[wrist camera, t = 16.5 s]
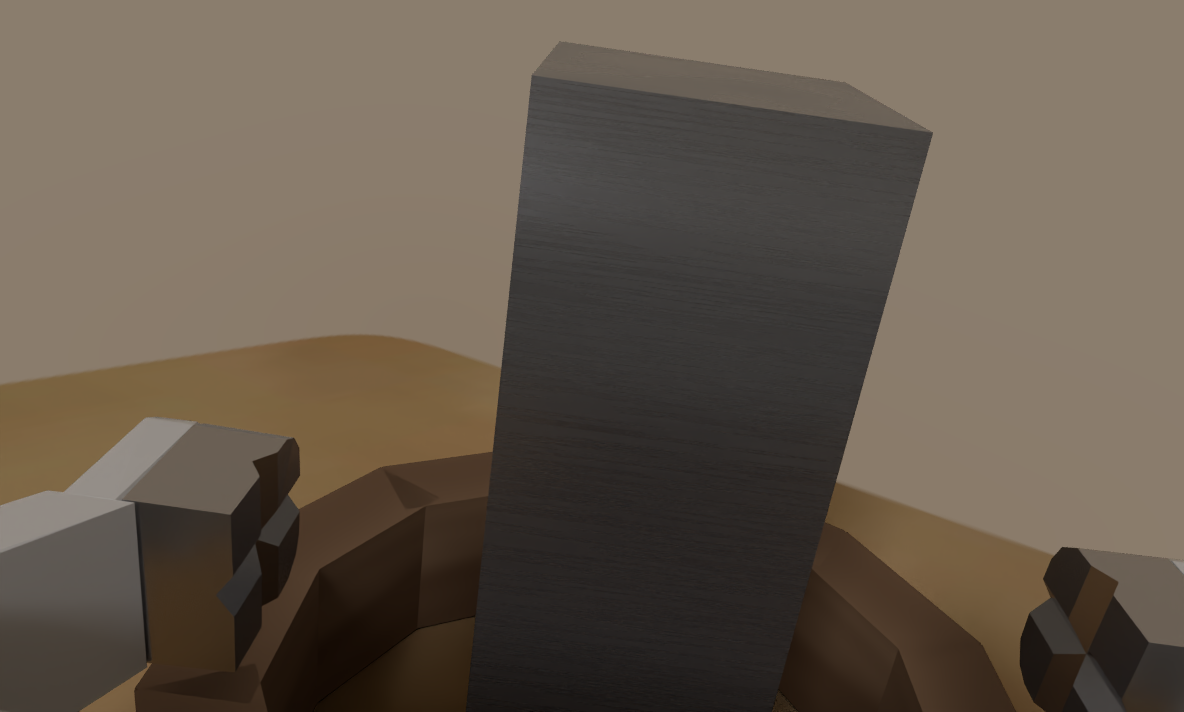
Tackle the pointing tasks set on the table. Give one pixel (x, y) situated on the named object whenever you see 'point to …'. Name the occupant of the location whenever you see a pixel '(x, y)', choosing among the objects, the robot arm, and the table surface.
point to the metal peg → (678, 375)
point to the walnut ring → (450, 591)
